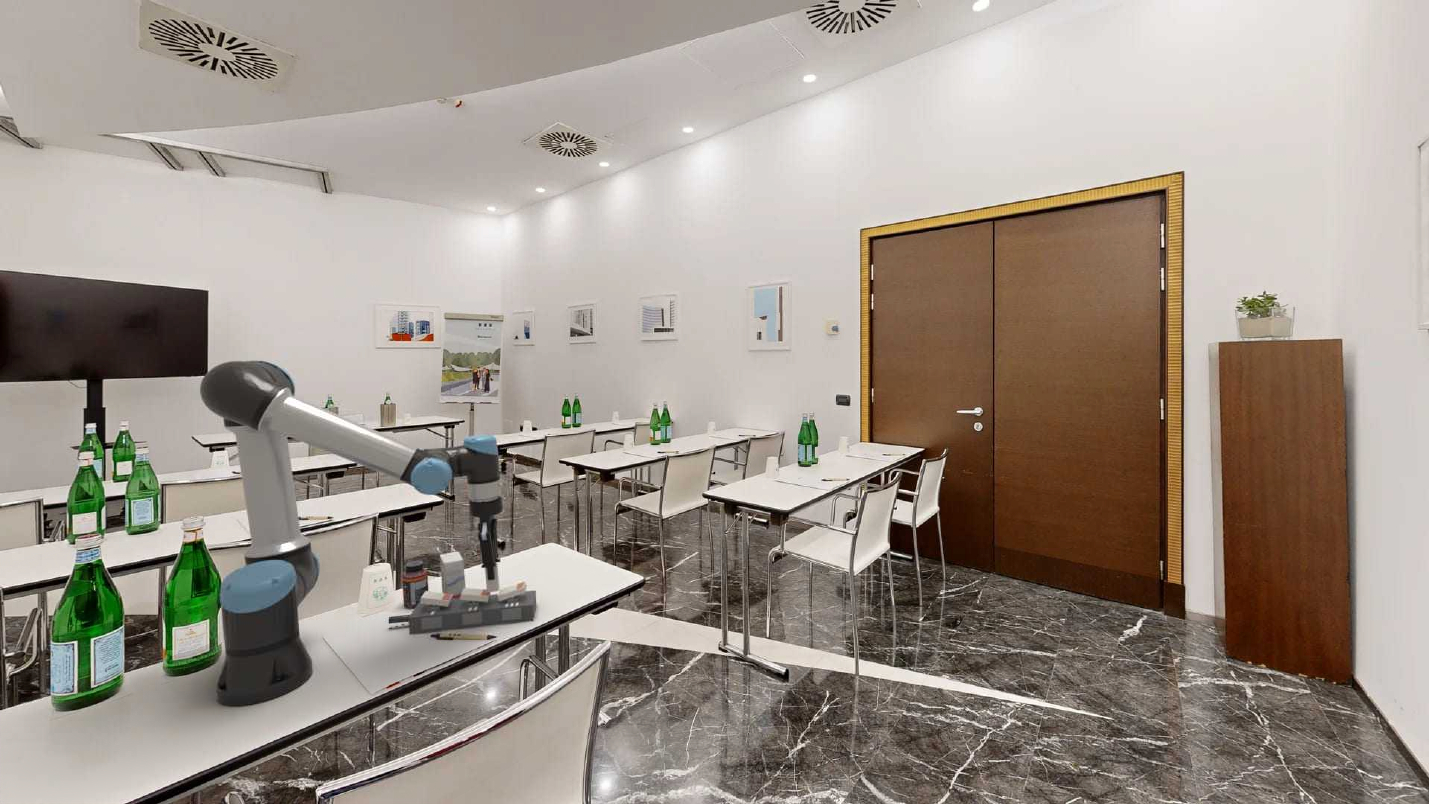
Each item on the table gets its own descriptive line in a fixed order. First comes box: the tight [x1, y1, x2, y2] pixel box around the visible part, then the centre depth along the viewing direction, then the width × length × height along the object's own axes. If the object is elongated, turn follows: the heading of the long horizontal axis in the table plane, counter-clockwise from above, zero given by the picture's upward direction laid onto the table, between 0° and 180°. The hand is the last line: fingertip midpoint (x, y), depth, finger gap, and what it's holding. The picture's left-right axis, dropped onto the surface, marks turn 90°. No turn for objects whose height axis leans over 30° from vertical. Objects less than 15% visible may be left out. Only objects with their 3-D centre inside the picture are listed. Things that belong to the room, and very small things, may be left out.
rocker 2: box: [460, 587, 492, 603], centre depth 141 cm, size 6×4×2 cm, turn 104°
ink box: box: [439, 551, 467, 599], centre depth 153 cm, size 9×5×12 cm, turn 34°
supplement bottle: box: [401, 560, 429, 610], centre depth 150 cm, size 6×6×11 cm
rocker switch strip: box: [388, 590, 537, 635], centre depth 141 cm, size 34×9×5 cm, turn 103°
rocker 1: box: [420, 590, 453, 607], centre depth 139 cm, size 6×4×2 cm, turn 104°
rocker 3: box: [497, 581, 528, 601], centre depth 143 cm, size 6×4×2 cm, turn 102°
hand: (493, 590), depth 142 cm, fingers closed
